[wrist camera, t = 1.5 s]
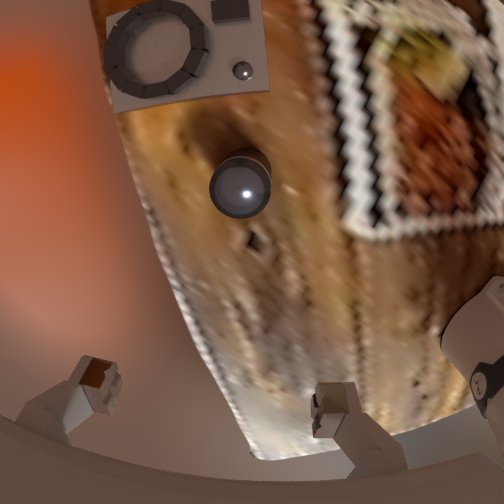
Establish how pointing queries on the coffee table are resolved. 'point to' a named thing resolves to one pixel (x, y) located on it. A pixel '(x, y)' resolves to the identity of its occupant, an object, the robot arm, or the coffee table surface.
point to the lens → (241, 184)
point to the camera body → (185, 52)
